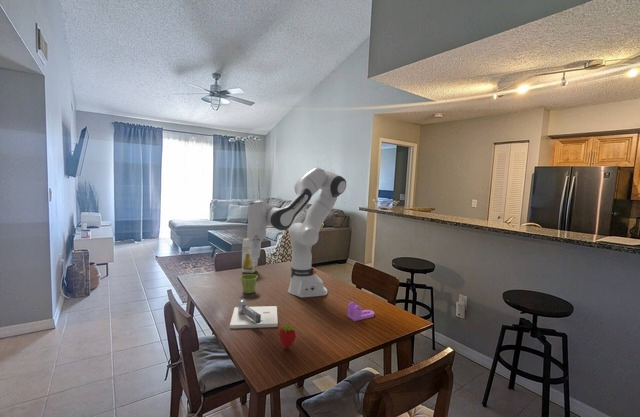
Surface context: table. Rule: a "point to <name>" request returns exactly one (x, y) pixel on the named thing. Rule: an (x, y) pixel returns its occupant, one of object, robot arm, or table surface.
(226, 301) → the table surface
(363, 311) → the bracket
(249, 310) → the grey lever handle
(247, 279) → the plant pot
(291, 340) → the strawberry
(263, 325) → the dial board
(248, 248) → the juice carton
